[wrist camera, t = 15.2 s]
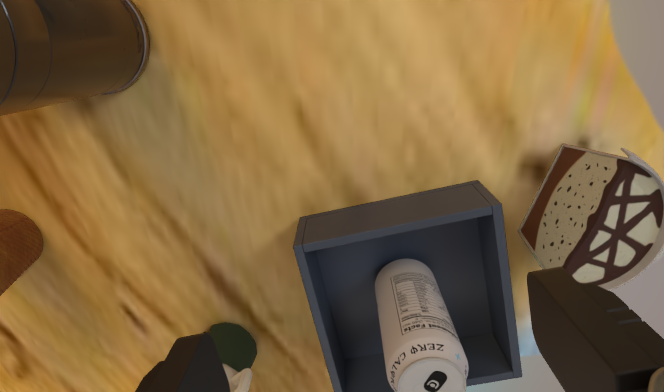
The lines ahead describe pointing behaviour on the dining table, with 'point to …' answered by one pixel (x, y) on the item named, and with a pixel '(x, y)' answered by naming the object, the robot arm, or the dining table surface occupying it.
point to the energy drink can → (418, 331)
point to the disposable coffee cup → (17, 246)
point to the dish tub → (422, 245)
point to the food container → (597, 217)
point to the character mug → (235, 354)
